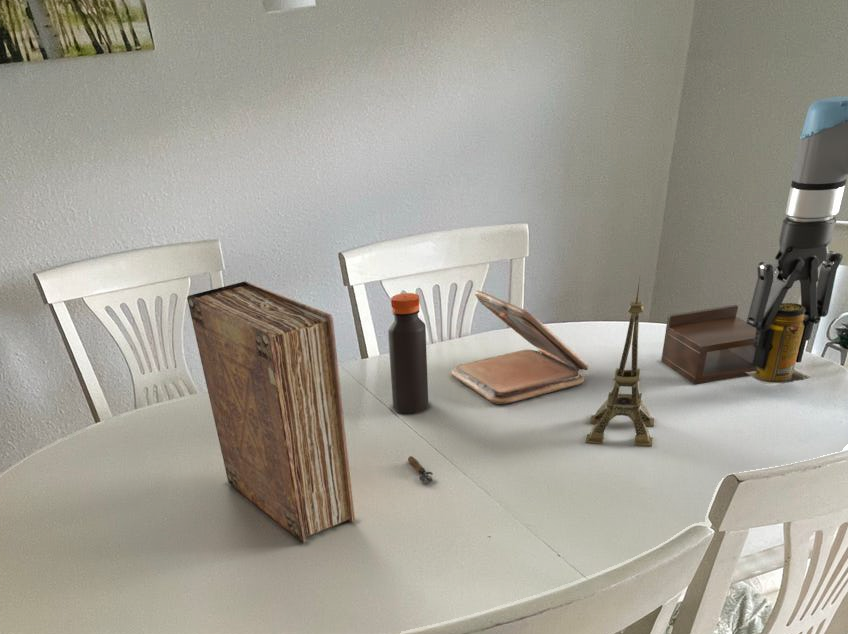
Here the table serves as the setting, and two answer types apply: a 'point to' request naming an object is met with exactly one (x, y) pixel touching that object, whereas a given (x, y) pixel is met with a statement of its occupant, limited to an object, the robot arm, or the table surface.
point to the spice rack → (709, 345)
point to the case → (522, 360)
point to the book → (276, 404)
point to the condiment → (783, 347)
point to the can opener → (420, 470)
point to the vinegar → (408, 355)
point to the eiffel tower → (625, 402)
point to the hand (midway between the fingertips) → (776, 362)
